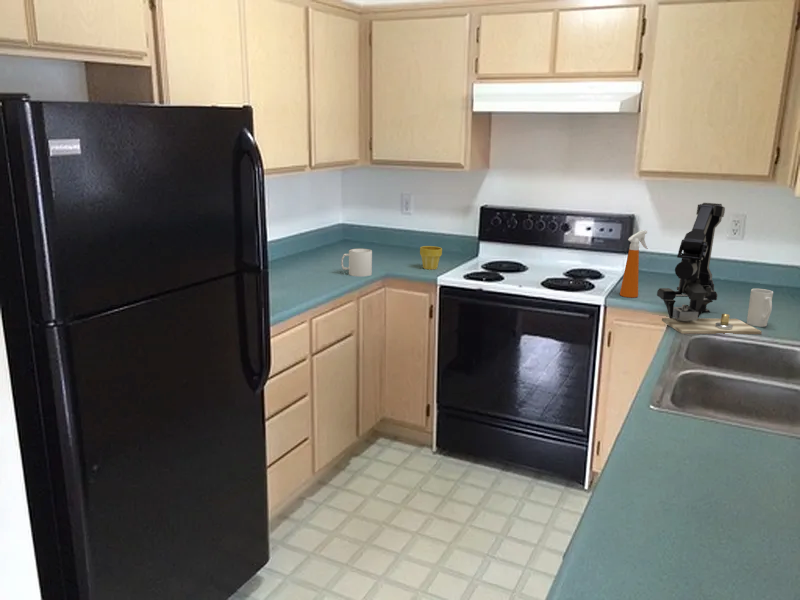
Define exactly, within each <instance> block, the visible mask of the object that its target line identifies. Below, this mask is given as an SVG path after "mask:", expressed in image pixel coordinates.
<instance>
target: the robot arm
mask: <svg viewBox="0 0 800 600" xmlns="http://www.w3.org/2000/svg"><path fill="white" fill-rule="evenodd" d="M725 212H726V207H725V206H723V205H722V203H714V202H703V203H700V204H697V208H696V218H695V221H694V223H693V225H692V229H691V231H688V232H687V233H686V234H685V236H684V238H683V239H681V242H680V246H679V249H678V253H677V256H676V257H677V258H679V259H681V261H680V262H679V263H677V264H676V266H675V267H674V274H675V275H676V277H677V278H678V279H679V284H678V286H677V287H676V290H673V289H672V288H668V287H667V288H666V287H660V288H658V289H657V292H656V296H657V297H659V298H660V299H661V300H663V302H664V305H665V308H666V311H667V314H668V318H673V307H675V306H674V305H675V304H676V300H675V299H676V297H681V298H683V297H686V298H687V297H688V299H689V304H688V305H689V307H690V308H692V309H694V310H696V311H698V318H700V316H701V314H702V313H710V310H709V309H708V308H707V305H708V304H710V303H713V302H714V301H717V300H718V293H717V291H716V290H715V284H714V280H713V274H712V272H711V269H710V263H711V258H712V252H713V251H712V250H713V246H714V245H713V243H714V237H715V232H716V228H717V227H718V226H719V224H720V223H721V222H722V220H723V218H724V216H725Z"/></svg>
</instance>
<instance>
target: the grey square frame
mask: <svg viewBox="0 0 800 600" xmlns="http://www.w3.org/2000/svg"><path fill="white" fill-rule="evenodd" d="M672 318H676V319H678V320H698V311H696V310H694V309H692V308H690V307H688V311H682V306H674V307H673V316H672Z"/></svg>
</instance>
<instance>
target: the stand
mask: <svg viewBox="0 0 800 600" xmlns="http://www.w3.org/2000/svg"><path fill="white" fill-rule="evenodd" d="M681 307H682V311H688V307H689V304H682V306H681ZM677 321H680V322H690V320H678V319H677Z"/></svg>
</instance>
